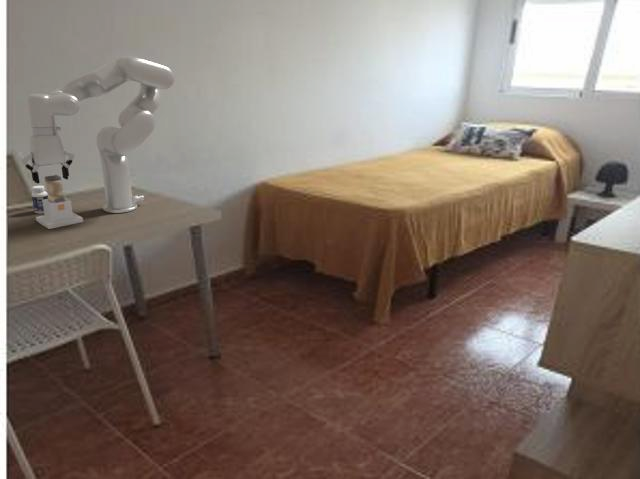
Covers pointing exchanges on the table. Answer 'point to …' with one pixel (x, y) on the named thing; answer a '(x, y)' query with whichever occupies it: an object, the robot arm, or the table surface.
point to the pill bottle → (38, 198)
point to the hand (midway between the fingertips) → (51, 180)
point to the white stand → (58, 214)
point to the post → (54, 188)
